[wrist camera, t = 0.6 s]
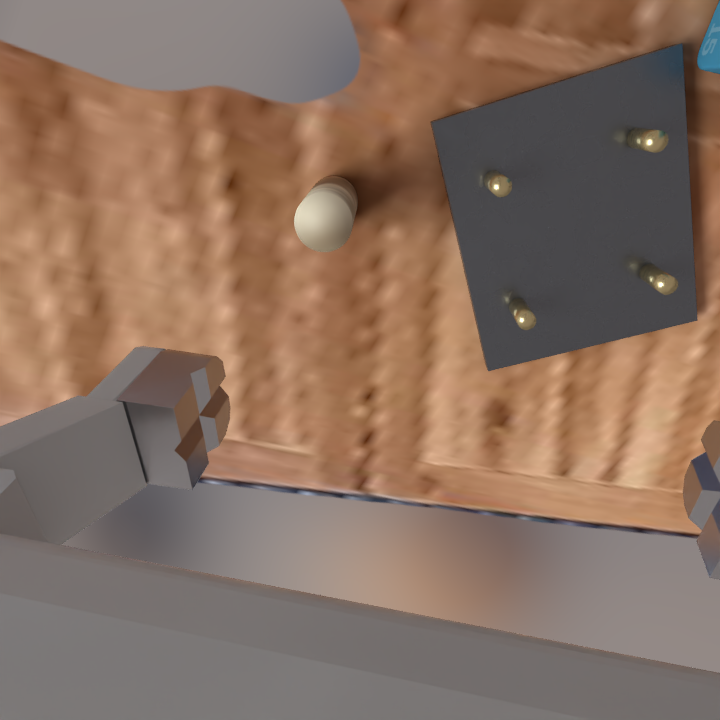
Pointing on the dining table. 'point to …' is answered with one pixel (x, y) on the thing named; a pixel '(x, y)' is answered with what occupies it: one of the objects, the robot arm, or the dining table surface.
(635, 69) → the pin plate
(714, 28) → the data package
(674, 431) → the dining table surface
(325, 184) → the birch post
